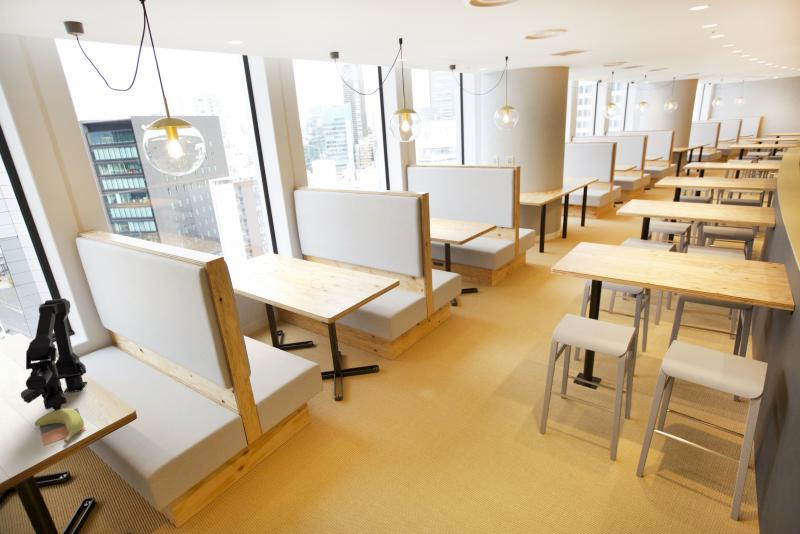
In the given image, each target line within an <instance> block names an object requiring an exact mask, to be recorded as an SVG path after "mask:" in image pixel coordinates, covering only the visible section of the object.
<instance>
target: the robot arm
mask: <svg viewBox="0 0 800 534" xmlns="http://www.w3.org/2000/svg"><path fill="white" fill-rule="evenodd" d="M70 309H71V303H70V300H68V299H66V298H57V299H56V298H55V299H48V300H47V299H46V300H45V301H44V303H42V304H39V307H38V314H39V316H38V323H37V327H36V332H35V337H34V338H33V339H32V341H30V342H29V346H28V347H27V349H26V353H25V370H31V372H30V375H29V376H28V377H27V379H26V381H25V386H26V389H24V390H23V391H21V392H20V398H21V399H23V402H25V403H26V404H30V403H31V402H33V401H34V400H36V399H38V398H39V397H40V396H41V397H42V398H43V400H42V402H43V405H44V409H45V410H50V409H53V411H55V410H58V409H62V407H63V405H65V404H67V403H68V402H67V398H66V393H73V392H78V391H77V390H80V391H83V389H84V388H85V386H86V385H87V384H86V383H88V381H84V380H83V375H85V374H86V373H87V369H86V365H85V364H84V363H83V362H82V361H81V360H80V356H78V355H77V354H76V353H74V352H73V345H72V340H71V336H70V330H69V326H68V320H67V318H68V316H69V314H70V312H71V310H70ZM53 333H54V338H55V343H56V344H55V343H54V342H53ZM57 353H58V358H57ZM61 380H64V381H65V387H66V388H65V389H64V391H63V387H62V382H61ZM85 384H86V385H85ZM84 385H85V386H84ZM83 387H84V388H83ZM82 388H83V389H82ZM72 391H73V392H72Z"/></svg>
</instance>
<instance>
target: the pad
mask: <svg viewBox="0 0 800 534" xmlns="http://www.w3.org/2000/svg"><path fill="white" fill-rule="evenodd" d="M85 431H86V428H85V424H84V425H83V427H82V429H81V430H80V431H79V432H78V433H75V434H74V435H77V434H79V433H82V432H85ZM40 435H41V440H42V445H43V447H44V446H48V445H49V444H53V443H56V442H58V441H60V440H65V439H66V438H67V436H68V435H69V431H68V429H67V427H66V426H63V427H60V428H57V429H55V430H52V431H49V432H46V433H43V434H41V433H40Z"/></svg>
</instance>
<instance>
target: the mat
mask: <svg viewBox="0 0 800 534" xmlns="http://www.w3.org/2000/svg"><path fill="white" fill-rule="evenodd" d="M72 409H73V410H75V411H77V412H78V413H79V415H80V416H81V414H80V410H79V408H77V407H76V408H72ZM63 426H66V424H63V423H53V424H48V425H43V426H39V429H40V435H41V434H43V433H46V432H49V431H52V430H55V429H57V428H60V427H63Z"/></svg>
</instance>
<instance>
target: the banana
mask: <svg viewBox="0 0 800 534" xmlns="http://www.w3.org/2000/svg"><path fill="white" fill-rule="evenodd" d="M73 409H74V408H66V407H65V408H61V409H58V410H53V411H50V412H48V413H46V414H44V415H42V416H41V417H39V418H37V420H36V421H35V422H34V425H35V426H36V427H40V426H43V425H48V424H53V423H63V424H66V427H67V429H68V431H69V435H68V436H67V437H66V438H64V439H63V442H64V443H67V444H68V443H70V441H71V438H72V437H73V436H74V435H76V434H75V433H77V434H79V433H78V432H79V431H80V430H81V429H82V427H83V425H84V426H85V424H84V423H85V421H84V419H83V417H82V415H81V414H80V415H79V413H80V412H79V413H78V412H77V411H75V410H73Z"/></svg>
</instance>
